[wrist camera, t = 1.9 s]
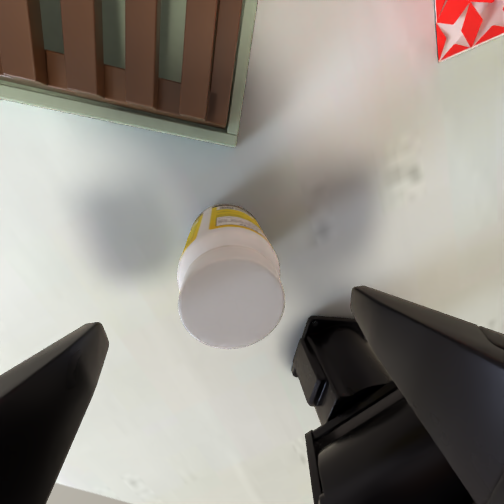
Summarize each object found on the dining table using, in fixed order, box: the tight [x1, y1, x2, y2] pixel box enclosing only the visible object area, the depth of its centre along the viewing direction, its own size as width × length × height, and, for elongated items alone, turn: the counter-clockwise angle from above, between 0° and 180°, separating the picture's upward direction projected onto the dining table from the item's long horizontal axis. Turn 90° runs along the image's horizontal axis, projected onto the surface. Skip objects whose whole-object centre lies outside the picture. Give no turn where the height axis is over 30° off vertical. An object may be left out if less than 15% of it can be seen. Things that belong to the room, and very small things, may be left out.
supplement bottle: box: [177, 204, 285, 349], centre depth 13 cm, size 5×5×8 cm
